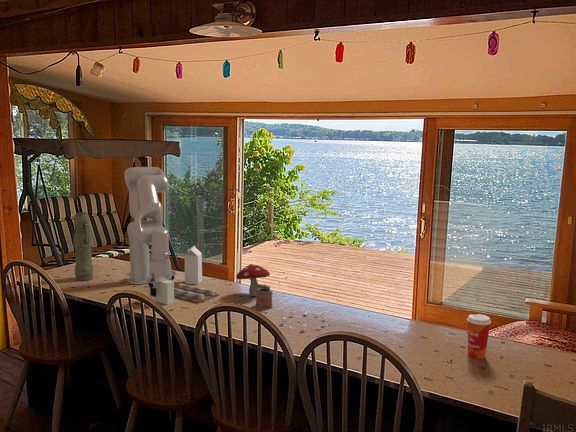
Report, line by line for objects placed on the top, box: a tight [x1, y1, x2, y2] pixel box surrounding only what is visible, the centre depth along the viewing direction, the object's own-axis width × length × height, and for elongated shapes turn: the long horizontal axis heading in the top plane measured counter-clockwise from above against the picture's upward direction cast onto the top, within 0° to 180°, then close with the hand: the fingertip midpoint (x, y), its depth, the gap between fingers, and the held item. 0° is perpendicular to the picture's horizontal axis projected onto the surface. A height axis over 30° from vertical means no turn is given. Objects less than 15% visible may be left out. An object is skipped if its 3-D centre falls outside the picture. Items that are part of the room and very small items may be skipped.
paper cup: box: [466, 313, 492, 360], centre depth 172 cm, size 8×8×14 cm
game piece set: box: [280, 309, 329, 332], centre depth 203 cm, size 19×20×4 cm
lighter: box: [255, 283, 273, 310], centre depth 222 cm, size 8×3×10 cm, turn 65°
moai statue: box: [72, 212, 94, 282], centre depth 261 cm, size 9×12×35 cm
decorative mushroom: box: [235, 263, 271, 297], centre depth 238 cm, size 16×16×15 cm
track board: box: [174, 283, 219, 304], centre depth 237 cm, size 22×14×3 cm, turn 58°
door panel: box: [148, 280, 175, 306], centre depth 227 cm, size 12×4×10 cm, turn 58°
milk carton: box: [184, 245, 203, 285], centre depth 257 cm, size 7×7×19 cm
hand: (161, 293), depth 227 cm, fingers open, 9 cm apart
